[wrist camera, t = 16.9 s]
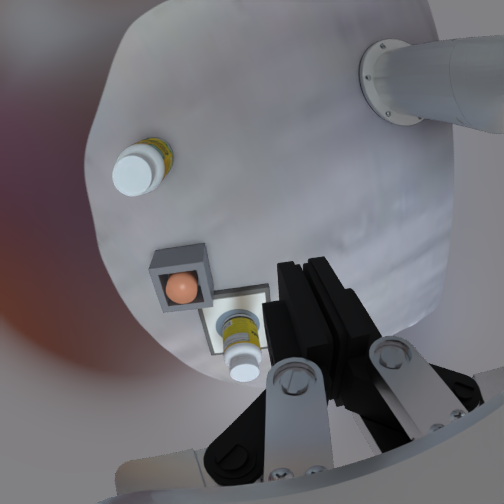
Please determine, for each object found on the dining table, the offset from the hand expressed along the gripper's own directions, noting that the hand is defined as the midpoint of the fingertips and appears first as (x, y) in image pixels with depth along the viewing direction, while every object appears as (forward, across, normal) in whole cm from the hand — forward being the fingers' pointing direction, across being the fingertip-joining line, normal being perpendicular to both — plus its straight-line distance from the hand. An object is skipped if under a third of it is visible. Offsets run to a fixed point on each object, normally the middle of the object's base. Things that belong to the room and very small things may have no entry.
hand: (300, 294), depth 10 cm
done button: (+25, +10, +14) cm, 30 cm away
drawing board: (+27, +4, +25) cm, 37 cm away
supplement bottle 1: (+27, +11, -2) cm, 30 cm away
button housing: (+27, +10, +14) cm, 32 cm away
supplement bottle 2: (+26, +4, +25) cm, 36 cm away
